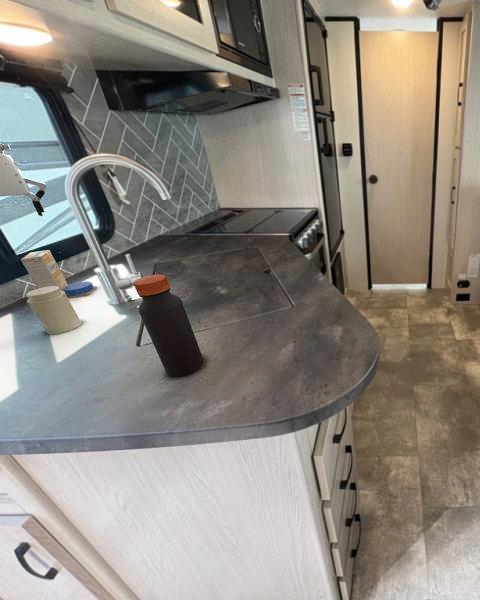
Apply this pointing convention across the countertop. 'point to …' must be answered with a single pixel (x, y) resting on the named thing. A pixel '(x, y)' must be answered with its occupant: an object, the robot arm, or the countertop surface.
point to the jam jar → (53, 309)
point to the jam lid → (78, 288)
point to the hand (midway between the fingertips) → (15, 217)
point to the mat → (83, 293)
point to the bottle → (168, 326)
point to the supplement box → (44, 269)
